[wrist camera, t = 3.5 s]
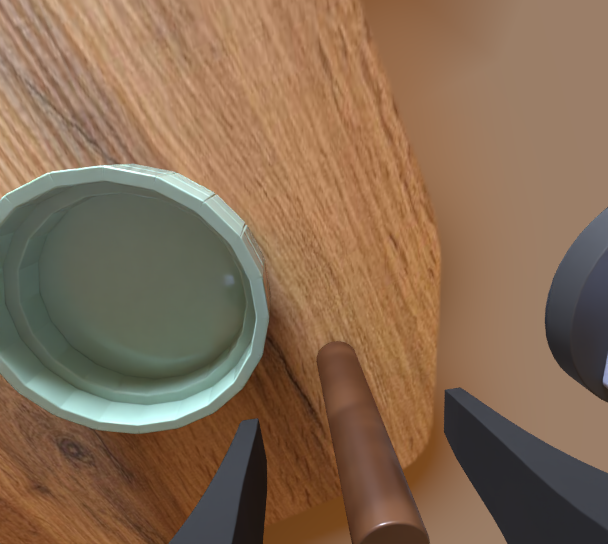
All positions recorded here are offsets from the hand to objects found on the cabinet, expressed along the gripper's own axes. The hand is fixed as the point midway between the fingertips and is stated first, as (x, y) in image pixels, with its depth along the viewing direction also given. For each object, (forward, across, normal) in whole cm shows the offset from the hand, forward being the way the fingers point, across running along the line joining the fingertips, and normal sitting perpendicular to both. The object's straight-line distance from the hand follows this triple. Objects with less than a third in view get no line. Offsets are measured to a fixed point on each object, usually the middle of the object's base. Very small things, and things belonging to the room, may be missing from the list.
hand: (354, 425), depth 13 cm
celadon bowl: (+5, +8, -5) cm, 10 cm away
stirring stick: (+4, 0, 0) cm, 5 cm away
